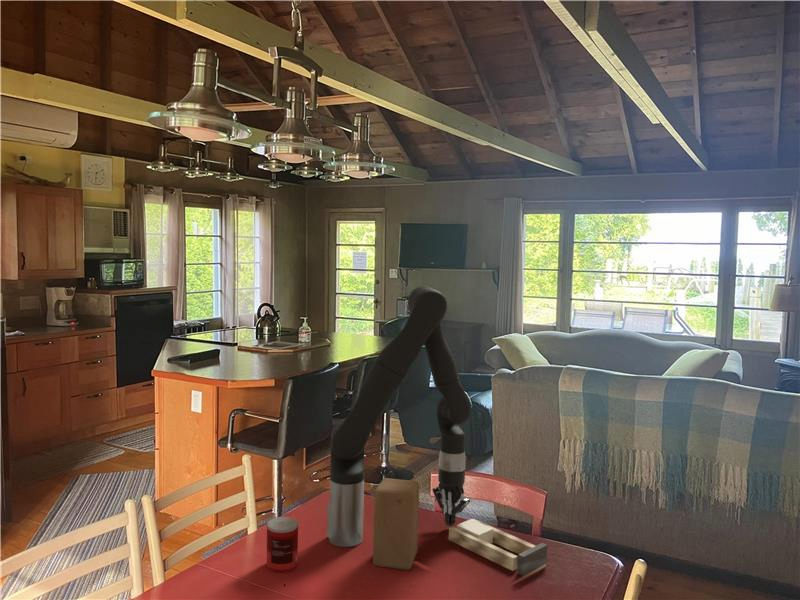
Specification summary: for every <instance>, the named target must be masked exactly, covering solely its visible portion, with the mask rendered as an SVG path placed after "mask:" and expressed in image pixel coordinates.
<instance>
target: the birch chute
mask: <svg viewBox="0 0 800 600" xmlns="http://www.w3.org/2000/svg"><path fill="white" fill-rule="evenodd" d="M471 519H472V520H474V521H477V522H479V523H481V524H483V525H486V526H488V527H490V528H493V543H492V544H490V543H488V542H485V541H483V540H481V539H479V538H477V537H475V536H472V535H470V534H468V533H466V532H464V531H462V530H460V529H457V527H455V526H450V527H449V528H448V541H450V542H453V543H454V544H457V545H459V546H460V547H463V548H465V550H466V549H467V550H468V551H471V552H473V553H475V554H477V555H479V556H481V557H483V558H484V559H487V560H489V561H491V562H493V563H495V564H497V565H499V566H502V567H503V568H506V569H507V570H510V571H512V572H514V571H516V570H517V574H518V575H520V579H525V578H527V577H528V576H530V575H533V574H534V573H536V572H538V571H540V570H542V569H543V568H545V567H546V566H547V559H548V556H547V554H548V544H546V543H544V542H540V543H539V544H537V545H535V544H533V543H531V542H528V541H526V540H523V539H521V538H518V537H516V536H514V535H512V534H510V533H508V532H505V531H503V530H501V529H498V528H496V527H494V526H492V525H489V524H487V523H484V522H482V521H479V520H477V519H475V518H471ZM494 544H496V545H497V546H496V545H494ZM498 546H500V547H498ZM501 547H502V548H504V549H506V550H504V549H502V548H501ZM507 550H509V551H511V552H509V551H507ZM512 552H513V553H512ZM514 553H515V554H514ZM516 554H518V555H516Z"/></svg>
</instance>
